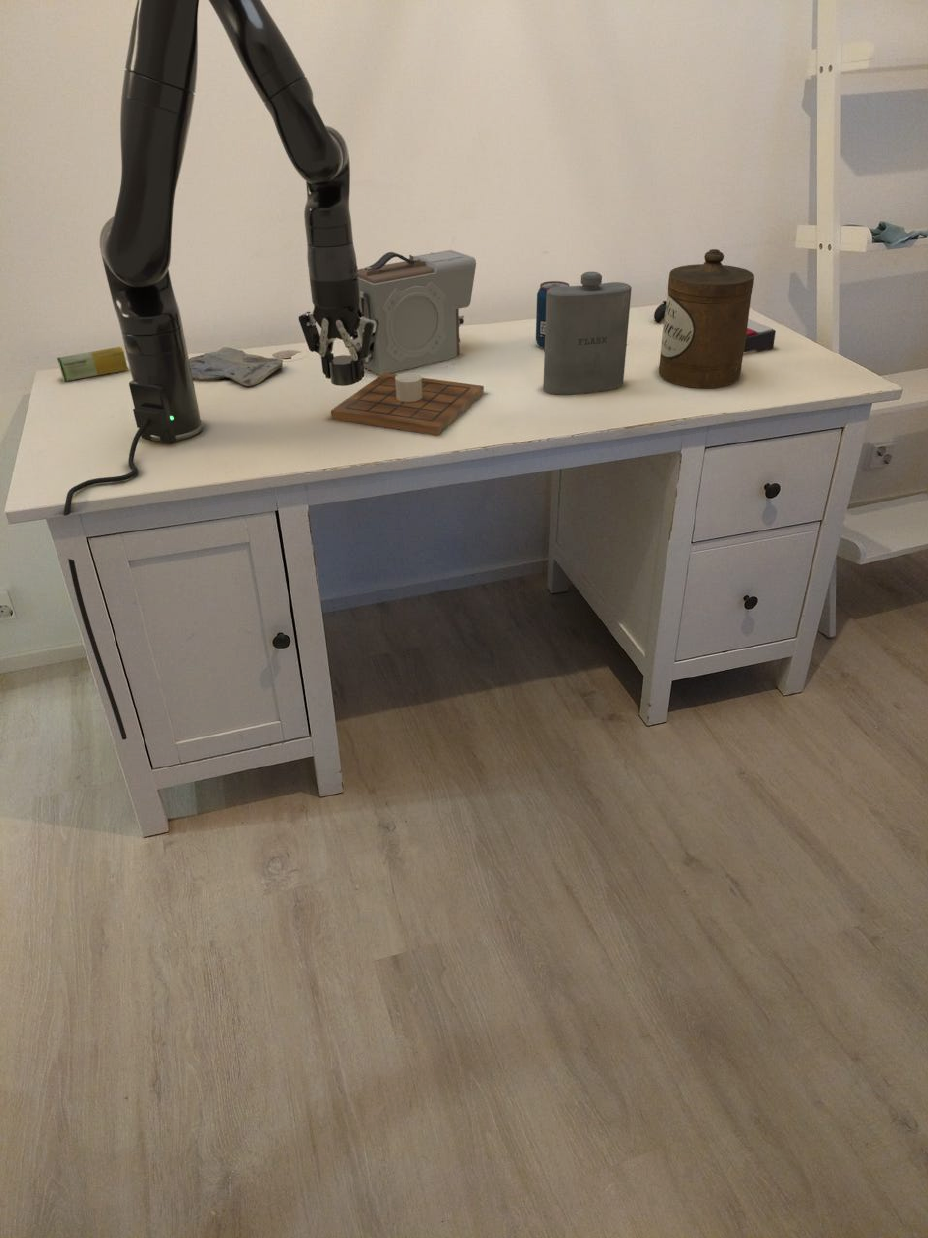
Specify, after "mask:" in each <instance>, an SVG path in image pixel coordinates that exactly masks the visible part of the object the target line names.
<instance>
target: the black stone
mask: <svg viewBox="0 0 928 1238" xmlns="http://www.w3.org/2000/svg"><path fill="white" fill-rule="evenodd" d="M351 360H353V359H352V358H351V355H346V354H345V355H344V354H343V355H342V354H341V355H335V356H334V357H332V358H330V359H329V361H328V362H329V371H330V379H329V380H330V383H331V384H332V385H334V386H337V387H345V386H347V387H348V386H352V385H354V384H356V383H357V382H353V379H352V368H351Z"/></svg>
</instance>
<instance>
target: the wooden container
mask: <svg viewBox="0 0 928 1238" xmlns="http://www.w3.org/2000/svg"><path fill="white" fill-rule="evenodd" d="M703 258H704V262H703V263H701V264H698V263H697V264H686V265H681V266H678V267H674V268H672V269H671V270H670V271H669V274H668V280H667V281H668V282H667V295H666V301H667V303H666V311H665V317H664V319H663V326H662V327H663V328H662V333H661V334H662V335H661V345H660V356H659V357H660V358H659V366H658V373H659V376H660V377H661V378H662V379H664V381H667V382H669V383H672V384H675V385H678V386H682V387H688V388H696V389H712V388H722V387H726V386H730V385H732V384H734V383H736V382H738V381H739V379H740V377H741V373H742V365H743V360H744V359H743V358H744V354H745V353H744V348H745V342H746V334H747V326H748V319H749V317H750V309H751V302H752V294H753V289H754V281H755V274H754V272H753V271H750V270H749V269H746V268H744V267H738V266H733V265H727V264H723V263H722V262H723V261H724V259H725V254H724V253H723V252H722V251H721V250H720V249H717V248H712V249H709V250H708V251H706V252H705V253H704V257H703Z"/></svg>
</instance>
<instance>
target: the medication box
mask: <svg viewBox="0 0 928 1238" xmlns="http://www.w3.org/2000/svg"><path fill="white" fill-rule="evenodd" d="M56 360H57V364H58V367H59V371H60V375H61V377H62V380H63V382H68V381H74V380H78V379H83V378H90V377H95V376H101V375H107V374H112V373H117V372H122V371H127V370H129V367H128V365H127V360H126V356H125V352H124V350H123V348H122V347H121V346H117V347H110V348H106V349H105V348H104V349H99V350H94V351H90V352H82V353H77V354H72V355H66V356H61V357H57V358H56Z"/></svg>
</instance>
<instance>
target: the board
mask: <svg viewBox="0 0 928 1238" xmlns="http://www.w3.org/2000/svg"><path fill="white" fill-rule="evenodd" d="M397 375H399V374H397V373H383V374H382V375H381V376H380V375H378V376H377V377H376V378H374V379H373V380H372V381H371V382H369V383H368V384H366V385H365V386H363V387H362V388H360V389H359V390H358V391H357V392H355V393H353V394H352V395H350V396H349V397H348V398H346V399H345V400H344V401H342V402H341V403H339V404H338V405H337V406H335V407H334V408H331V410H330V417H331V420H336V421H343V422H349V423H354V424H362V425H368V426H375V427H380V428H381V427H382V428H387V429H395V430H401V431H407V432H411V433H412V432H414V433H420V434H426V435H432V436H439V435H440V434H441V433H442V432H444V430H446V429H447V428H448V427H449V426H450V425H451V424H452V423H453V422H455V420H457V419H458V418H460V416H461V415H462V414H463V413H464V412H466V411H467V410H468V409H469V408H470V407H471V406H472V405H473V404H474V403H475V402H477V401H478V400H479V399H480V398H481V397H483V396H484V394H485V386H484V385H480V384H471V383H466V382H458V381H450V380H444V379H443V380H442V379H435V378H427V377H422V394H423V397H422V399H420V400H418V401H415V402H402V401H399V400H397V398H396V386H395V377H396V376H397Z"/></svg>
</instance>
